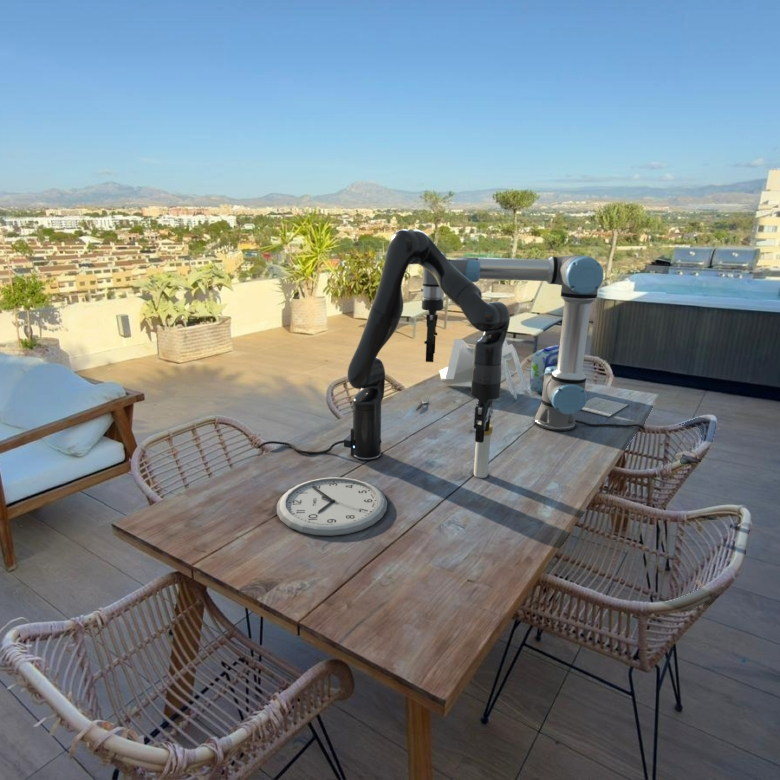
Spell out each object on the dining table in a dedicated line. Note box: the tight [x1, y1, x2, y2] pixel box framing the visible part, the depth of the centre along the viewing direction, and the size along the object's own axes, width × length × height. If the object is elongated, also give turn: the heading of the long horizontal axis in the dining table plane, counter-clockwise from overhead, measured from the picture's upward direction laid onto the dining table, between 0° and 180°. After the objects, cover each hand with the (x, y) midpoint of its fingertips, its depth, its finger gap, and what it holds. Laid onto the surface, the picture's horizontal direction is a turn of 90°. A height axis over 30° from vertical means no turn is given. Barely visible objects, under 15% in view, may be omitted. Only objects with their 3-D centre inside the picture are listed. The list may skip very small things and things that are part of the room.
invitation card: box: [580, 396, 629, 418], centre depth 226 cm, size 21×1×15 cm
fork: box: [415, 395, 430, 411], centre depth 223 cm, size 3×16×2 cm, turn 160°
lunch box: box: [529, 345, 560, 394], centre depth 245 cm, size 26×11×21 cm, turn 134°
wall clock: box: [276, 476, 388, 537], centre depth 142 cm, size 30×2×30 cm
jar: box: [473, 433, 492, 479], centre depth 160 cm, size 4×4×16 cm
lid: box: [478, 421, 493, 435], centre depth 157 cm, size 5×5×2 cm
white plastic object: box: [438, 337, 531, 400], centre depth 245 cm, size 37×45×31 cm
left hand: (482, 436), depth 142 cm, fingers open, 8 cm apart
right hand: (430, 357), depth 190 cm, fingers open, 13 cm apart
